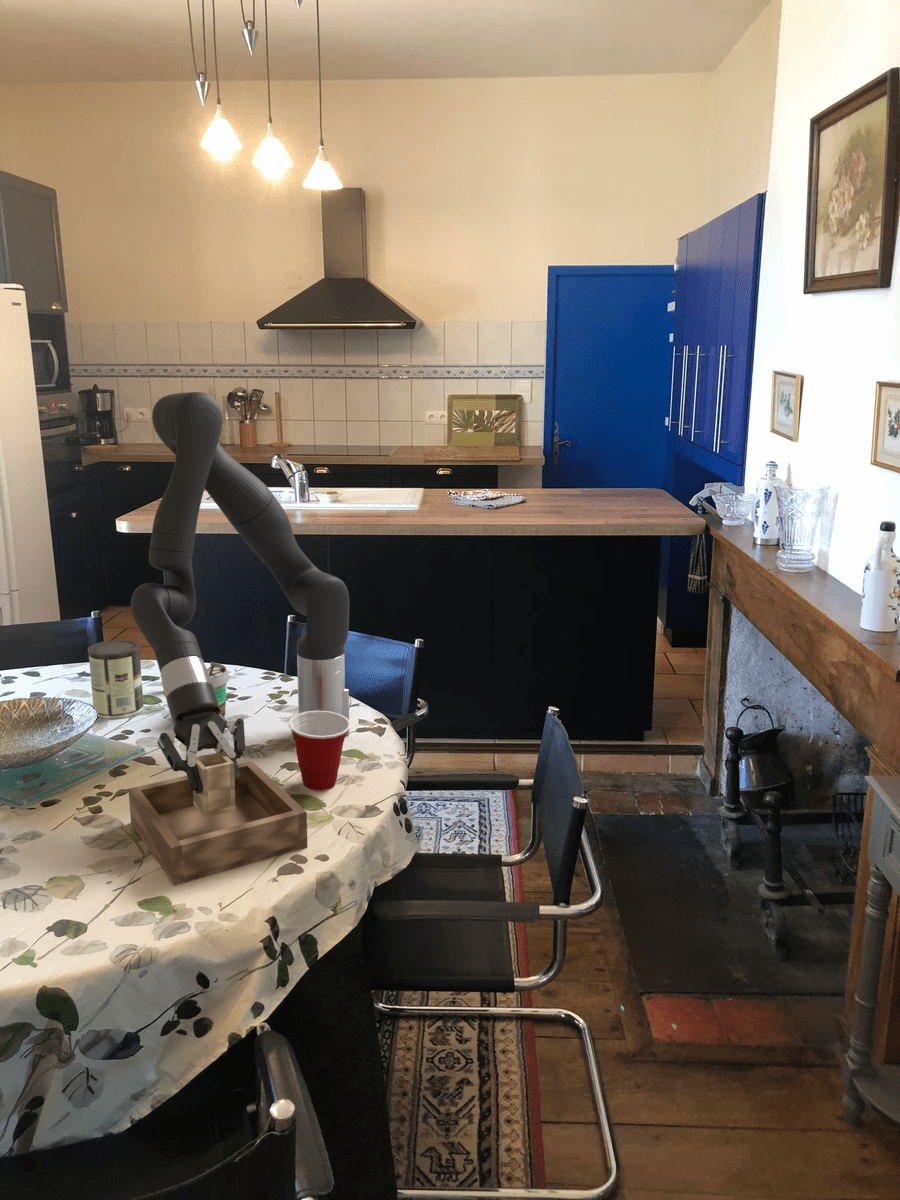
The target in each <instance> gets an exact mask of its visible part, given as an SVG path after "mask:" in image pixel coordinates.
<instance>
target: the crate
mask: <svg viewBox="0 0 900 1200" xmlns="http://www.w3.org/2000/svg"><path fill="white" fill-rule="evenodd" d="M237 765H238V768H239V771H240V779H239V780H238V783H237V785H235V810H234V811H230V812H226V813H222V814H217V815H213V816H209V817H205V818H204V817H203V815H202V814H201V813H200V812H199V811H198V809H197V808H196V807H195V806H194V803H193V791H192V789H191V787H190V784H189V780H188V777H187V775H183V776H180V777H174V778H171V779H167V780H162V781H158V782H153V783H149V784H145V785H140V786H135V787H131V788H128V789H127V790H128V800H129V815H130V824H131V825H132V826H133V828H134V829H135V831H136V832H137V834H138V836H140V839H141V840H142V841H143V842H144V844H145V846H146V847H147V849H148V850H149V851H150V853H151V854H152V856H153V858H154V859H155V860H156V862H157V863H158V865H159V866H160V868H161V869H162V871H163V872H164V873H165V875H166V876H167V878H168V879H169V881H170V882H171V884H172V885H173V886H178V885H181V884H185V883H188V882H191V881H195V880H198V879H201V878H205V877H209V876H211V875H216V874H219V873H223V872H226V871H229V870H234V869H236V868H240V867H244V866H246V865H251V864H254V863H257V862H260V861H265V860H268V859H271V858H274V857H279V856H282V855H285V854H289V853H292V852H295V851H298V850H302V849H303V850H304V849H306V848H308V813H307V811H306V810H305V809H304V808H303V807H302V806H301V805H300V804H299V803H298V802H297V801H296V800H295V799H294V798H292V797H291V796H290V795H289V794H288V793H287V792H286V791H285V790H284V789H283V787H281V786H279V785H278V783H277V782H275V781H274V780H273V779H272V778H271V777H270V776H269V775H268V774H267V773H266V772H265V771H264V770H263V769H261V768H260V767H259V766H258V765H257V764H256V763H255V762H254V761H253V760H250V761H245V762H240V763H237Z"/></svg>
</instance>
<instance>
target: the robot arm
mask: <svg viewBox="0 0 900 1200" xmlns="http://www.w3.org/2000/svg"><path fill="white" fill-rule="evenodd" d="M151 418H152V419H151V420H152V425H153V427H154V430H155V432H156V435H157V436H158V438H159V439H160V441H162V443H163V444H164V445H165V446H166V447H167V448H168V449H169V450H170V451H171V453H173V454H174V455H175V459H174V464H173V466H174V467H173V470H172V473H171V476H170V479H169V482H168V484H167V487H166V490H165V491H164V494H163V495H162V497H161V500H160V501H159V504H158V507H157V509H156V512H155V516H154V520H153V522H152V528H151V529H152V530H151V536H150V543H149V550H148V552H149V553H148V563H149V565H150V566H151V567H153V568H155V569H158V570H160V571H163V572H164V573H165V574H166V577H167V580H168V584H165V583H164V584H163V583H153V582H146V583H142V584H140V585H139V586H138V587H136V588H135V589H134V592H133V593H132V595H131V599H130V611H131V614H132V617H133V620H134V623H135V624H136V625H137V627H138V628H139V630H140V632H141V633H142V635H143V637H144V638H145V640H146V641H147V644H149V646H150V647H151V649H152V650H153V652H154V655H155V658H156V662H157V665H158V669H159V672H160V678H161V686H162V688H163V695H164V697H165V700H166V703H167V706H168V710H169V714H170V717H171V720H172V721H171V722H172V723H173V729H172V731H169V732H162V733H160V734H159V737H158V739H157V742H156V743H157V745H158V747H159V748H160V749H159V750H161V752H162V754H163V756H164V757H165V760H167V763H168V765H169V766H170V768H171V770H172V771H173V772H179V771H180V772H184V773H185V774H186V776H187V777H188V780H189V784H190V787H191V789H192V791H196V794H199V793H202V791H203V785H202V781H201V778H200V774H199V771H198V767H196V766H195V764H196V757H197V754H198V753H197V752H202V750H212V749H213V750H214V753H218V752H223V753H224V754H226V755H227V756H228V757H229V758H230V759H231V760H232V761H233V762H234V777H235V785H237V783H238V780H239V779H240V771H239V768H238V765H237V764H238V762H237V760H238V759H240V758H242V756H243V754H244V753H245V751H246V739H245V738H246V736H245V721H244V719H243V718H242V717H239V718H237V719H236V720H227V719H226V718H225V717H223V716H222V714H221V712H220V708H219V705H218V701H217V698H216V695H215V692H214V689H213V685H212V682H211V679H210V676H209V673H208V670H207V669H208V668H207V666H206V664H205V662H204V659H203V656H202V652H201V649H200V645H199V643H198V641H197V638H196V635H195V634H194V633H193V632H192V631H190V630H188V629H185V628H183V627H185V626H186V625H187V624H189V623H190V622H191V621H192V619H193V617H194V615H195V612H196V608H197V595H196V589H195V587H196V586H195V581H194V571H193V570H194V569H193V562H192V560H193V553H194V548H195V539H196V533H197V525H198V518H199V513H200V509H201V508H200V507H201V504H202V501H203V500H202V499H203V496H204V492H205V491H206V492H207V494H208V495H209V497H210V498H211V499H212V500H213V502H214V503H215V504H216V506H217V507H218V508H219V510H221V512H222V513H223V515H224V516H225V518H226V520H228V522H229V523H230V524H231V526H232V527H233V529H234V530H235V531H236V532H237V533H238V535H239V536H240V537H241V538H242V540H243V541H244V542H245V543H246V544H247V545H248V546H249V548H250V549H251V551H252V552H254V554H255V555H256V557H257V558H259V559H260V561H261V562H262V563H263V564H264V566H266V568H268V570H269V571H270V572H271V574H272V576H273V577H274V578H275V580H276V582H277V583H278V585H279V587H280V589H281V590H282V592H283V593H284V595H285V597H286V599H287V600H288V602H289V603H290V605H291V606H292V608H294V610H295V611H296V612H297V613H299V614H300V615H302V616H305V617H306V628H305V629H306V631H305V634H304V635H302V636H300V637H299V638H298V639H297V641H296V656H297V657H296V658H297V661H296V662H297V663H296V665H297V703H298V705H297V706H298V707H297V709H298V712H297V714H299V713H303V712H307V711H329V712H333V713H337V714H340V715H342V716H344V717H346V718H347V719H348V720H349V721H350V691H349V689H348V688H347V687H346V683H345V682H346V681H345V680H346V678H345V677H346V676H345V674H346V673H345V671H346V670H345V668H346V667H345V646H346V643H347V641H348V638H349V631H350V630H349V629H350V628H349V627H350V626H349V625H350V594H349V591H348V587H347V585H346V584H345V582H344V581H343V580H342V579H340V578H339V577H337V576H334V575H332V574H329V573H326V572H324V571H322V570H320V569H319V568H318V567H316V565H314V563H312V561H311V560H310V559H309V558H308V556H307V555H305V553H304V551H303V550H302V549H301V548H300V547H299V544H298V543H297V540H296V538H295V535H294V531H293V527H292V524H291V521H290V519H289V516H288V514H287V512H286V511H285V509H284V508H283V507H282V505H281V503H280V502H279V500H278V499H277V498H276V497H275V495H274V494H273V492H272V491H271V490H270V488H269V487H268V486H267V485H266V484H265V483H264V482H263V481H261V480H260V478H258V477H257V476H256V475H255V474H254V473H252V471H250V470H249V469H247V468H246V467H244V466H243V465H242V464H240V463H239V462H238V461H236V460H235V459H234V458H233V457H232V456H231V455H229V453H227V451H226V450H225V449H224V448H223V447H222V446H221V444H220V443H219V441H220V438H221V437H220V436H221V433H222V429H223V422H224V420H223V419H224V417H223V411H222V408H221V406H220V405H219V402H217V400H216V399H215V398H214V397H212V396H211V395H209V394H208V393H205V392H201V391H190V392H189V391H187V392H179V393H172V394H171V393H170V394H167V395H165V396H162V397H161V398H159V399H158V400H157V401H156V403H155V404H154V406H153V408H152V414H151ZM226 729H227V730H228V733H229V734H230V735H232V736H233V739H232V741H233V748H232V747H231V745H230V743H229V740H228V739H227V738H226V737H225V735H224V732H225V730H226ZM348 735H350V729H349V730H348V732H347V733H346V736H348ZM176 740H178V741H179V743H181V744H182V745H183V746H185V753H184V754H185V755H184V759H183V758H182V756H181V755H180V753H179V751H178V750H177V748H176V747H175V743H176Z"/></svg>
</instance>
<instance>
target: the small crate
mask: <svg viewBox="0 0 900 1200" xmlns="http://www.w3.org/2000/svg"><path fill="white" fill-rule="evenodd" d="M195 766H196V767H198V771H199V774H200V778H201V781H202V785H203V791H202V793H199V794H196V791H193V803H194V806H195V807H196V808H197V809H198V811H199V812H200V813H201V814H202V815H203V817H204V818H205V817H209V816H213V815H217V814H222V813H226V812H230V811H234V810H235V777H234V762H233V761H232V760H231V759H230V758H229V757H228V756H227V755H226V754H224V753H223V752H218V753H216V752H214V753H210V754H205V755H200V756H196V764H195Z"/></svg>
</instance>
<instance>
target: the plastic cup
mask: <svg viewBox="0 0 900 1200" xmlns="http://www.w3.org/2000/svg"><path fill="white" fill-rule="evenodd" d="M351 725H352V724H351V721H350V719H349V720H348V719H347V718H346V717H344V716H342V715H340V714H337V713H333V712H329V711H307V712H303V713H299V714H298V713H296V714H295V715H293V716H292V717H290V719H289V721H288V727H289V728H290V731H291V734H292V739H293V742H294V746H295V751H296V759H297V762H298V763H297V764H298V767H299V771H300V775H301V780H302V782H303V783H302V784H303V786H304V788H307V789H308V790H311V791H325V790H330V789H332V788H333V787H334V786H336V784H337V780H338V774H339V773H338V772H339V768H340V764H341V757H342V752H343V746H344V742H345V739H346V736H347V735H346V733H347V732H348V730H349V731H350V728H351Z"/></svg>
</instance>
